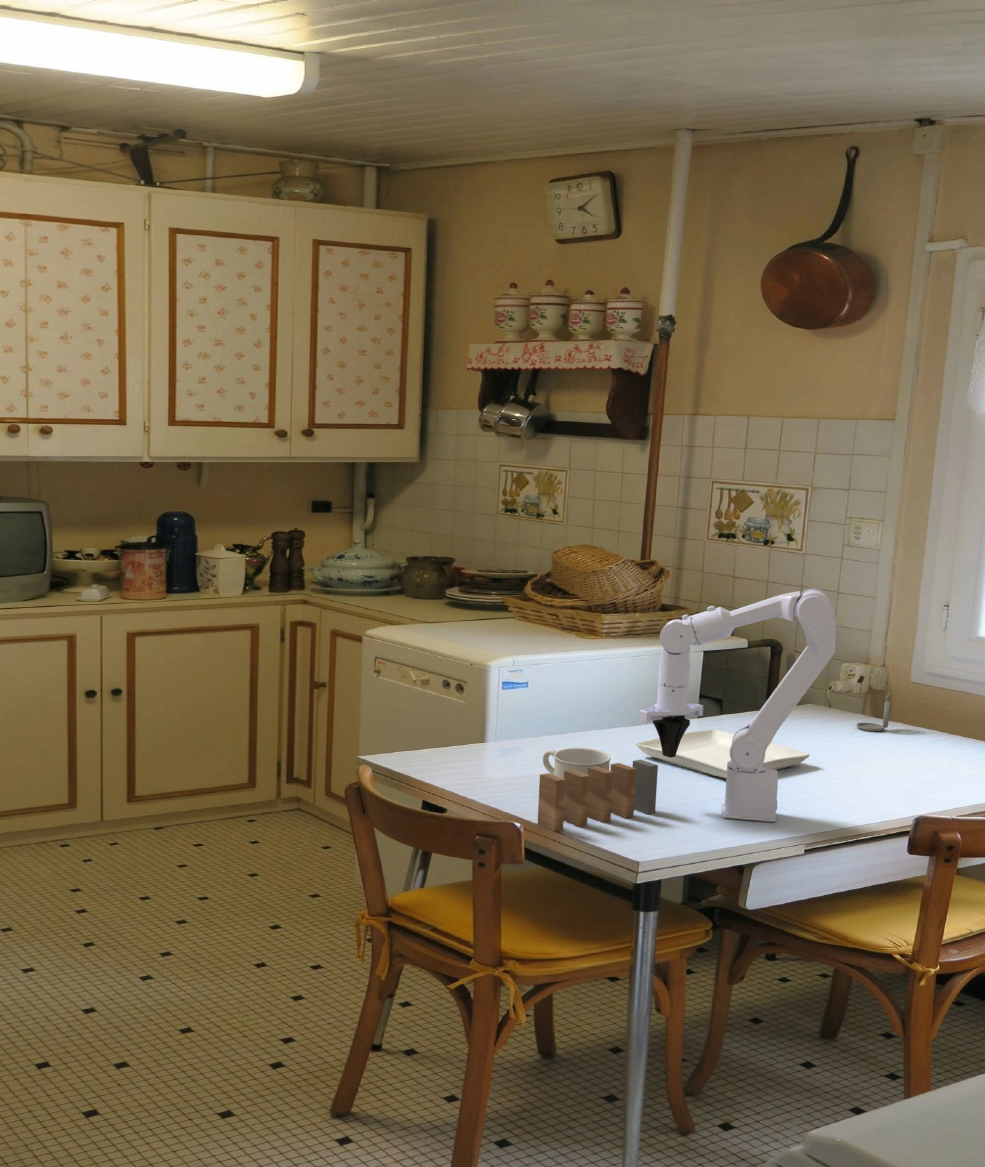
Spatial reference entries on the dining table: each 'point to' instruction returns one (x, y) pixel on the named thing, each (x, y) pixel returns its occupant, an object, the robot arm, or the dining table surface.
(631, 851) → the dining table surface
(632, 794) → the domino
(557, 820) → the domino
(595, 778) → the domino
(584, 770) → the teacup
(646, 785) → the domino
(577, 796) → the domino
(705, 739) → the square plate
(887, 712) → the grey dish with post
